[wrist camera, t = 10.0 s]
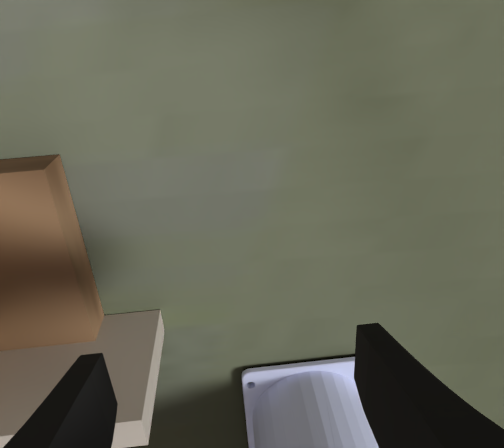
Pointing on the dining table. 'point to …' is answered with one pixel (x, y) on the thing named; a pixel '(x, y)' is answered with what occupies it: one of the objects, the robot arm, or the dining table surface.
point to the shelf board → (119, 368)
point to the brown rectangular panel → (43, 259)
